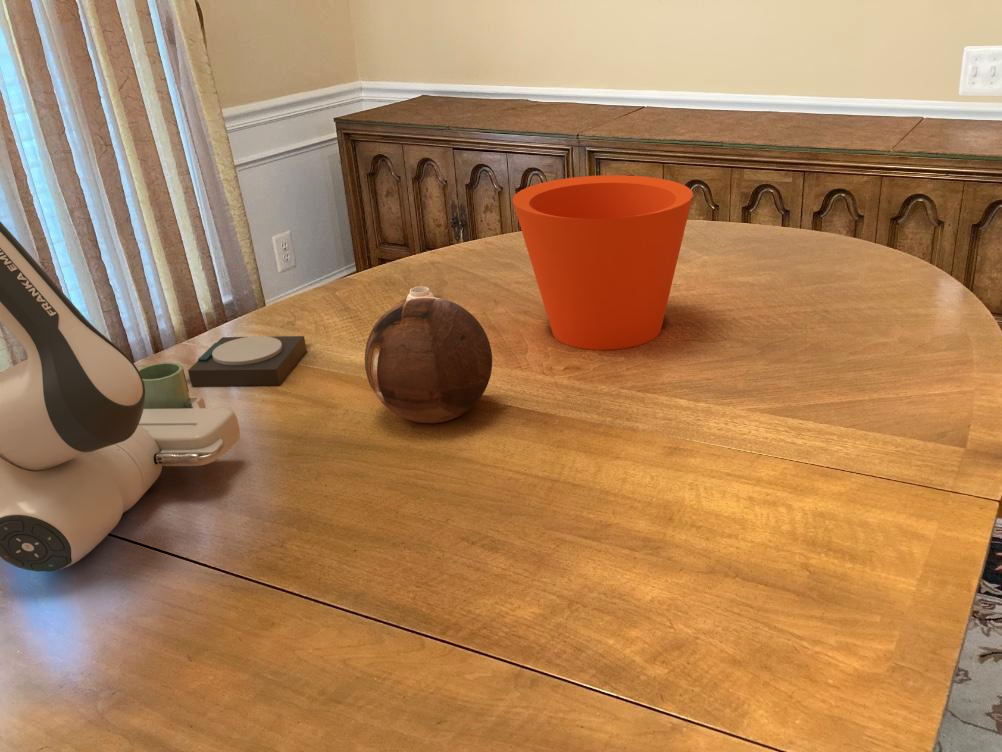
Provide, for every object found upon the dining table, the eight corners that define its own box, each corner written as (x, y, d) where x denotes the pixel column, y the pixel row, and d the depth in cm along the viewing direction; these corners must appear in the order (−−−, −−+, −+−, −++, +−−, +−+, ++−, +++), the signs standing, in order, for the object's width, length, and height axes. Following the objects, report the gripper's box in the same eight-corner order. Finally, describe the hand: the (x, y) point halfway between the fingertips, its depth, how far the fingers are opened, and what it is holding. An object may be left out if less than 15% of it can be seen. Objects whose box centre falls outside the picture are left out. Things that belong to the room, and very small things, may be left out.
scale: (191, 386, 131) (186, 366, 129) (225, 352, 141) (221, 333, 140) (279, 385, 130) (275, 364, 129) (307, 351, 141) (303, 331, 139)
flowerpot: (604, 290, 160) (600, 168, 151) (725, 325, 145) (730, 190, 135) (487, 333, 145) (475, 199, 136) (609, 377, 129) (604, 229, 120)
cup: (147, 460, 113) (124, 380, 108) (166, 439, 117) (145, 362, 112) (191, 460, 112) (170, 380, 108) (209, 439, 117) (190, 361, 112)
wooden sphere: (487, 385, 128) (477, 274, 121) (505, 435, 115) (495, 314, 108) (371, 400, 125) (354, 287, 118) (376, 453, 112) (357, 330, 105)
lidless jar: (442, 308, 155) (429, 299, 159) (440, 290, 154) (427, 282, 158) (413, 314, 153) (400, 306, 157) (410, 296, 152) (398, 288, 155)
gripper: (204, 433, 99) (253, 377, 111) (8, 435, 100) (78, 379, 112) (218, 487, 102) (264, 427, 114) (27, 488, 103) (93, 428, 115)
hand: (170, 403), depth 113 cm, fingers closed on cup, 5 cm apart
